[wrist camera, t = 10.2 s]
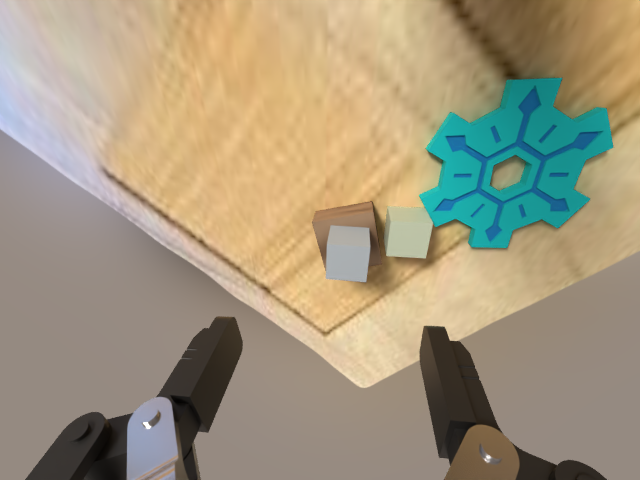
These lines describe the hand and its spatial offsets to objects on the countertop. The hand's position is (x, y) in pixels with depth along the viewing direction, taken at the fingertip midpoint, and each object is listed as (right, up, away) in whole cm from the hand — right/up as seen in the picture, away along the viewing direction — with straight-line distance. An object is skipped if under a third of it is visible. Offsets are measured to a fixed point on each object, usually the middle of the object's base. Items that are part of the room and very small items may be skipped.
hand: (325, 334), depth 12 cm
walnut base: (+4, +5, +30) cm, 31 cm away
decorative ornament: (+23, +13, +23) cm, 35 cm away
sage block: (+14, +5, +25) cm, 29 cm away
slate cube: (+4, +4, +26) cm, 27 cm away
